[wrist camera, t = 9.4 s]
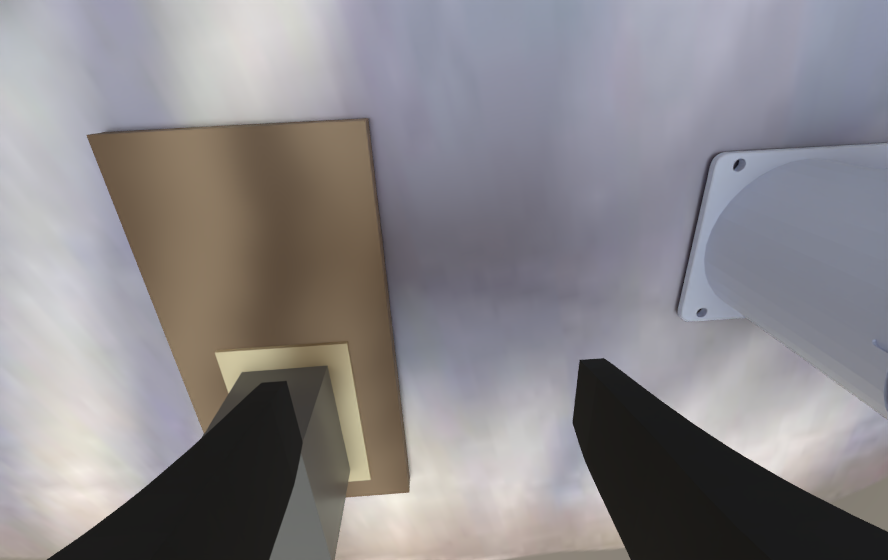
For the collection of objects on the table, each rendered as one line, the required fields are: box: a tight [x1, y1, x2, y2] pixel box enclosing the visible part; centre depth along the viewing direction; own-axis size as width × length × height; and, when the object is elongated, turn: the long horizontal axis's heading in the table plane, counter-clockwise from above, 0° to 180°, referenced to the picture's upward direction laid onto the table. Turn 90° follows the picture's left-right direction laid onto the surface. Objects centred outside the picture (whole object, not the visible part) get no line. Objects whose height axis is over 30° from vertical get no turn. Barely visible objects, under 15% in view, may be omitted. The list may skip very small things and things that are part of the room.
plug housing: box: [202, 365, 350, 560], centre depth 19 cm, size 4×7×5 cm, turn 3°
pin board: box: [87, 118, 410, 497], centre depth 19 cm, size 10×20×3 cm, turn 3°
